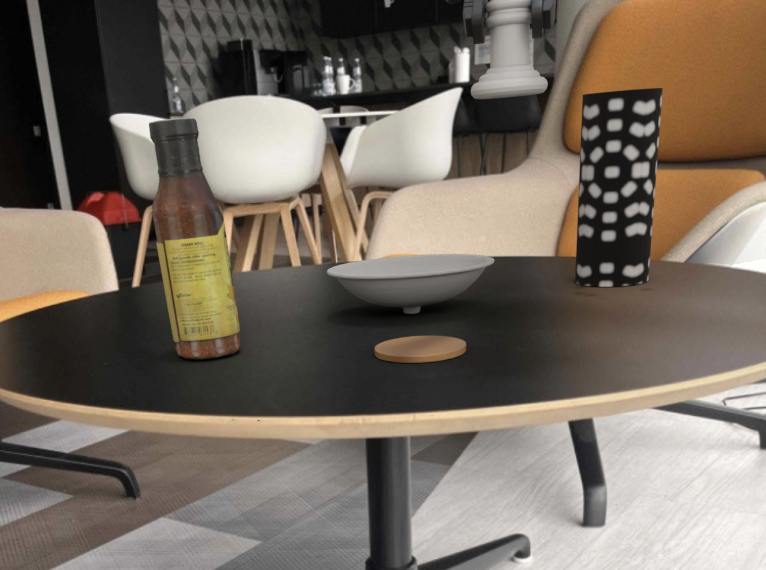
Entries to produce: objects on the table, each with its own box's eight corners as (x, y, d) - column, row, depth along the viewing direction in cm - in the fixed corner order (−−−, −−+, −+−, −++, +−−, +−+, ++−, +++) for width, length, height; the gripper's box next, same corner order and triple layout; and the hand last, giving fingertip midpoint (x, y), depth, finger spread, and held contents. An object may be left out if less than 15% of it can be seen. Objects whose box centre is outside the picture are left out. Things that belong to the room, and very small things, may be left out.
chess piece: (562, 91, 60) (566, -65, 56) (493, 96, 59) (493, -64, 55) (522, 96, 65) (523, -48, 61) (457, 101, 63) (454, -46, 59)
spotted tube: (652, 275, 105) (666, 88, 96) (643, 286, 98) (658, 87, 90) (582, 275, 108) (589, 95, 100) (568, 287, 101) (576, 94, 93)
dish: (337, 332, 86) (334, 280, 84) (324, 308, 99) (320, 262, 97) (511, 317, 88) (511, 265, 86) (475, 295, 101) (475, 249, 99)
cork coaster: (475, 342, 78) (475, 335, 78) (454, 364, 72) (453, 356, 71) (390, 341, 81) (390, 335, 81) (362, 362, 74) (361, 355, 74)
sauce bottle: (256, 351, 81) (229, 114, 73) (202, 365, 77) (168, 117, 69) (213, 343, 86) (183, 120, 77) (160, 357, 82) (123, 123, 73)
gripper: (422, -188, 62) (393, -9, 57) (630, -224, 58) (621, -36, 53) (436, -84, 69) (412, 85, 63) (623, -110, 65) (615, 67, 60)
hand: (507, 29), depth 58 cm, fingers closed on chess piece, 3 cm apart
